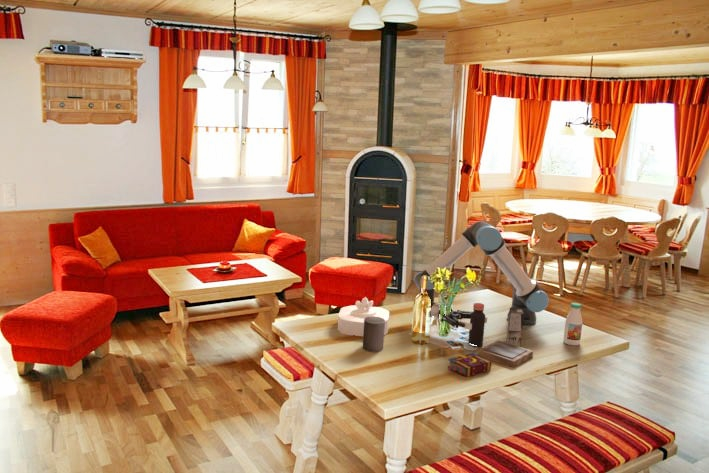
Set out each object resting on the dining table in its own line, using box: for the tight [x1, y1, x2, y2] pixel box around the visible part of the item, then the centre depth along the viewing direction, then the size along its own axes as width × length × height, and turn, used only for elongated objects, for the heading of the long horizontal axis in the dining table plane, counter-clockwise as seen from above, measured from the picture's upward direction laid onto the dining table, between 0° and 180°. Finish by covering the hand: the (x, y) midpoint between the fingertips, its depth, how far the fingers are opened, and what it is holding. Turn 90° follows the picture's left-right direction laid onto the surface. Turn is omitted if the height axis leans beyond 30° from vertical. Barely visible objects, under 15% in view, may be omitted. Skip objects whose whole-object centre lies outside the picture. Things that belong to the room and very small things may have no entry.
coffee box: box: [506, 307, 524, 347], centre depth 300 cm, size 9×6×16 cm
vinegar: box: [467, 302, 486, 348], centre depth 294 cm, size 7×7×20 cm
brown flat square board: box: [477, 339, 534, 368], centre depth 283 cm, size 18×18×3 cm
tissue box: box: [337, 296, 390, 337], centre depth 311 cm, size 25×25×16 cm
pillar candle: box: [362, 316, 385, 353], centre depth 285 cm, size 10×10×15 cm
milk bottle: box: [563, 302, 583, 346], centre depth 302 cm, size 8×8×20 cm
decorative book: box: [447, 352, 492, 378], centre depth 267 cm, size 11×16×5 cm
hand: (479, 323), depth 293 cm, fingers open, 13 cm apart
